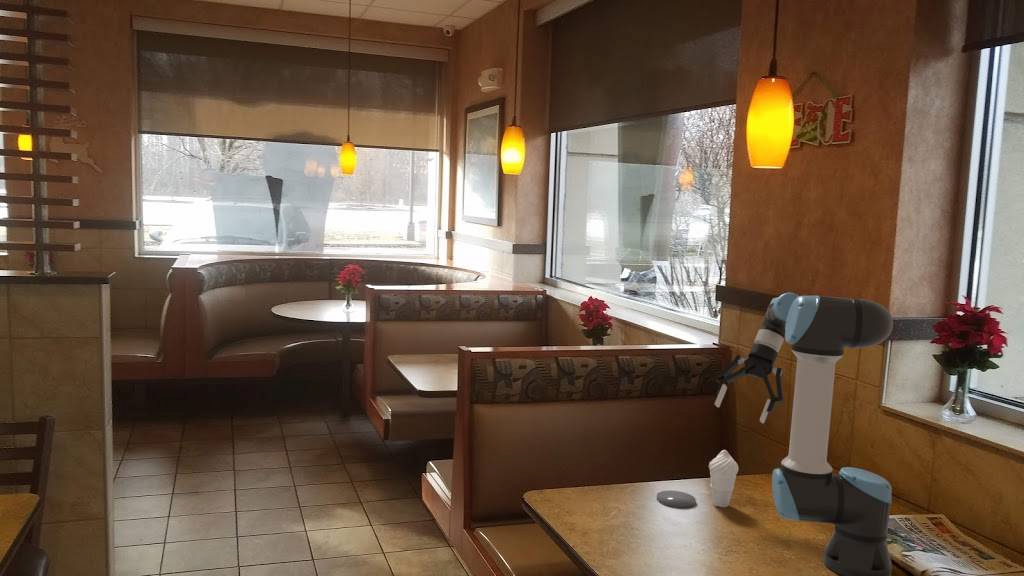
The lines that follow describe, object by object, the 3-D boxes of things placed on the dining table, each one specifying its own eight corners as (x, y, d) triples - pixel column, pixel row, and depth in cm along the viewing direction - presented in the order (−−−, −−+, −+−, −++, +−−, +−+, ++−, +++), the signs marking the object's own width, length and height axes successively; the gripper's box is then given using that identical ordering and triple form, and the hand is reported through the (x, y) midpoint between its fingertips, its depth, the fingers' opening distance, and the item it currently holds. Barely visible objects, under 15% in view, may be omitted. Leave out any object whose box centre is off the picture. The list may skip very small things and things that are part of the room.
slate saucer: (689, 511, 225) (689, 507, 225) (651, 502, 231) (651, 498, 230) (700, 499, 235) (700, 496, 235) (663, 491, 240) (664, 487, 240)
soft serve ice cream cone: (736, 511, 227) (741, 456, 225) (705, 508, 228) (710, 453, 227) (734, 501, 235) (739, 447, 233) (704, 497, 236) (709, 444, 235)
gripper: (810, 365, 233) (783, 432, 228) (728, 340, 247) (702, 403, 242) (806, 355, 227) (778, 424, 222) (723, 331, 241) (695, 395, 236)
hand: (738, 413), depth 232 cm, fingers open, 13 cm apart
